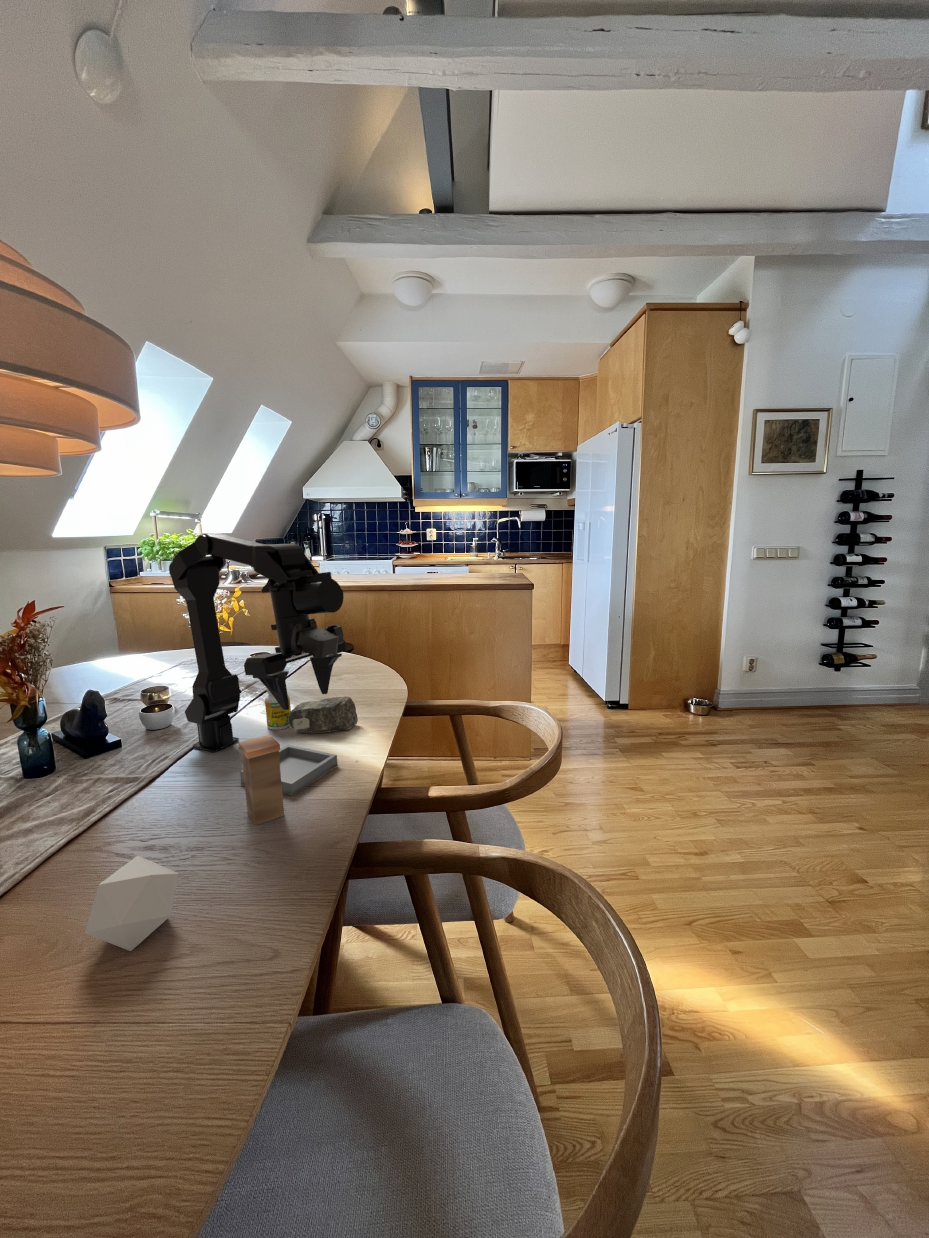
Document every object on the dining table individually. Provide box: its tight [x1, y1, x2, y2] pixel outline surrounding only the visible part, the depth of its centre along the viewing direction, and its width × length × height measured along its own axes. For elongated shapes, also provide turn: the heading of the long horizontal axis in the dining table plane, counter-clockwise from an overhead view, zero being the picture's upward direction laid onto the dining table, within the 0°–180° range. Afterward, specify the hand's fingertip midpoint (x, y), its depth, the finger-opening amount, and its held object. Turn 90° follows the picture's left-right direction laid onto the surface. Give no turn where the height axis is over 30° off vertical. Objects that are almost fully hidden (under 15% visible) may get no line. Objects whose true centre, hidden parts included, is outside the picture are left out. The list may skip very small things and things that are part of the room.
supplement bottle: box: [264, 688, 292, 731], centre depth 118 cm, size 5×5×10 cm
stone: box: [288, 696, 359, 734], centre depth 115 cm, size 14×7×10 cm, turn 105°
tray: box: [239, 744, 338, 797], centre depth 95 cm, size 12×12×2 cm
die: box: [84, 855, 180, 952], centre depth 58 cm, size 8×9×10 cm
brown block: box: [238, 734, 285, 826], centre depth 81 cm, size 5×5×12 cm
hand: (306, 701), depth 93 cm, fingers open, 9 cm apart
